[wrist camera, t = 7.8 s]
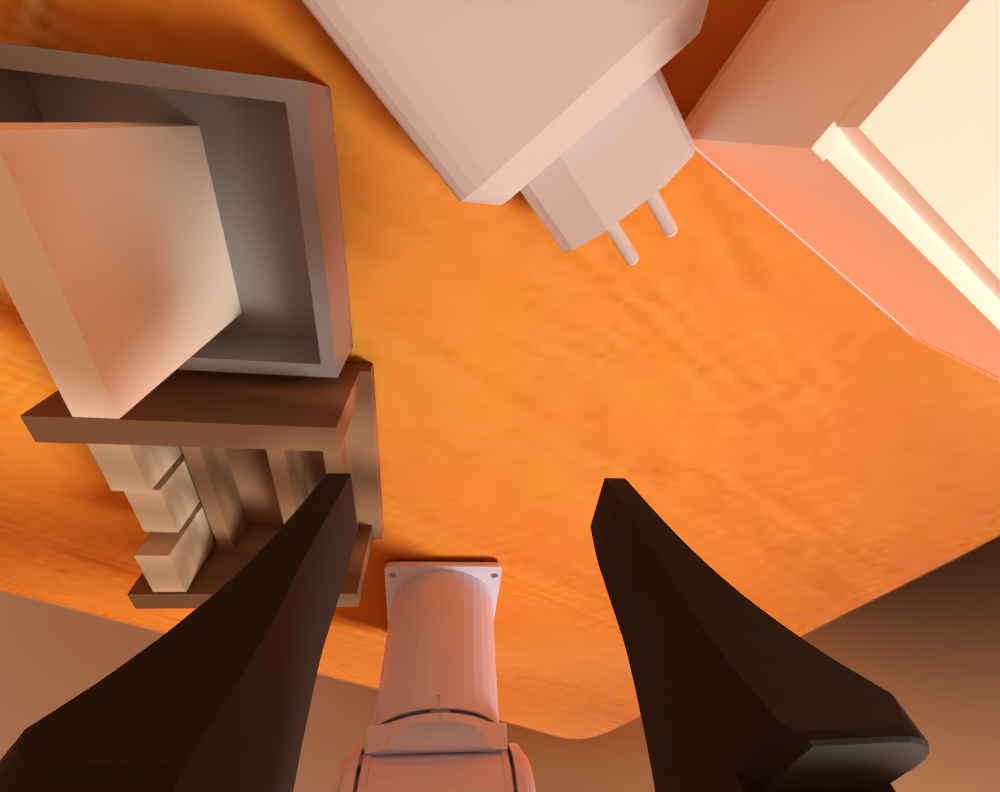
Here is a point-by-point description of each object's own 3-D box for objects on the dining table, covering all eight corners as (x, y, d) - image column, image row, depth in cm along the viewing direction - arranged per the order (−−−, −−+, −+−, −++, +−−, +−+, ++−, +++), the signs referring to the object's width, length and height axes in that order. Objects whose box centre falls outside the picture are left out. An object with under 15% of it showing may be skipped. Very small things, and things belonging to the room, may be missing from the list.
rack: (383, 528, 28) (367, 606, 23) (182, 525, 26) (125, 608, 22) (373, 363, 21) (349, 428, 17) (107, 349, 20) (5, 415, 15)
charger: (548, 299, 20) (275, -54, 14) (731, 160, 18) (506, -369, 11) (568, 343, 16) (196, -126, 10) (807, 172, 14) (529, -652, 7)
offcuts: (227, 521, 25) (186, 591, 21) (200, 520, 25) (153, 591, 21) (182, 387, 20) (117, 448, 17) (147, 385, 20) (74, 447, 16)
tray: (353, 346, 21) (337, 377, 18) (121, 332, 20) (70, 364, 17) (329, 87, 15) (303, 80, 13) (7, 46, 14) (-92, 31, 12)
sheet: (241, 312, 19) (119, 418, 12) (212, 310, 19) (72, 416, 12) (199, 125, 15) (-10, 130, 9) (162, 121, 15) (-80, 123, 8)
